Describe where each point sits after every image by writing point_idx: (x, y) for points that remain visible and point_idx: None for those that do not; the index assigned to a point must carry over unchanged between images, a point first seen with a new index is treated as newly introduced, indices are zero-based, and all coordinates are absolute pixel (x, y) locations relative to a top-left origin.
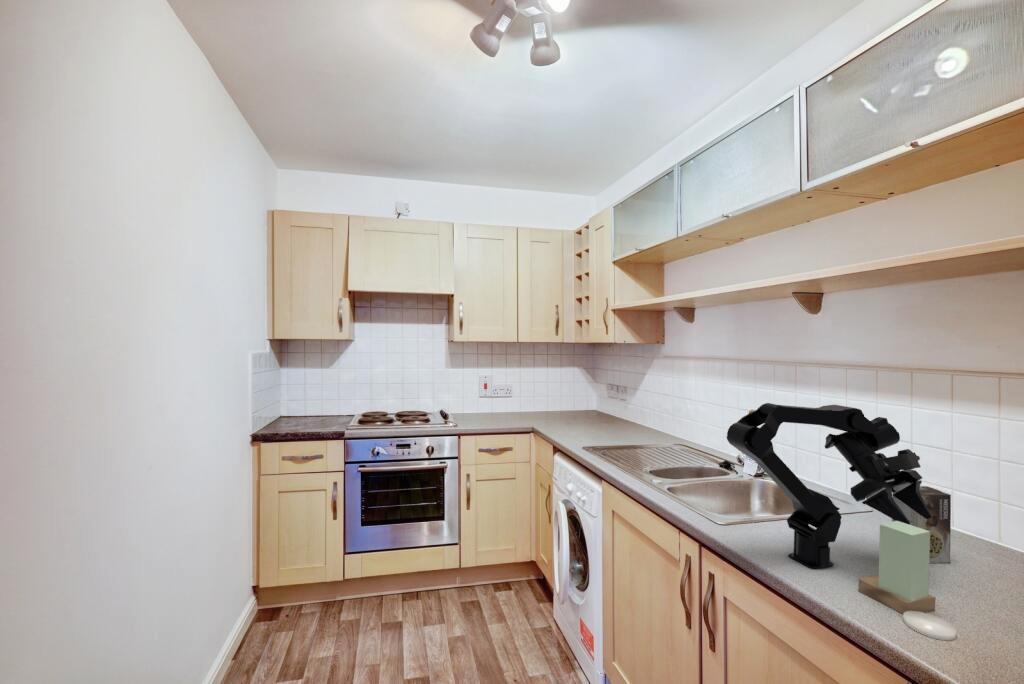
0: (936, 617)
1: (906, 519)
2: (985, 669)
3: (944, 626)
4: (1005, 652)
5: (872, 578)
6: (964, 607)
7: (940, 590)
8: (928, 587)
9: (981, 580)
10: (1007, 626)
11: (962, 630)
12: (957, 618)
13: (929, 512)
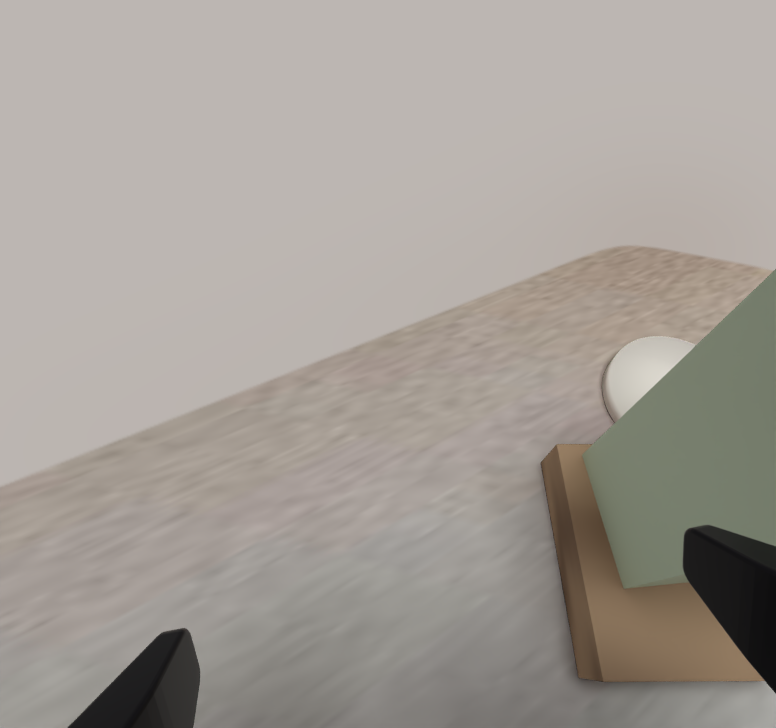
0: (624, 401)
1: (754, 541)
2: (675, 265)
3: (645, 365)
4: (550, 285)
5: (724, 658)
6: (402, 448)
7: (343, 565)
8: (599, 439)
9: (30, 578)
10: (396, 346)
11: (566, 367)
12: (509, 410)
13: (137, 666)
